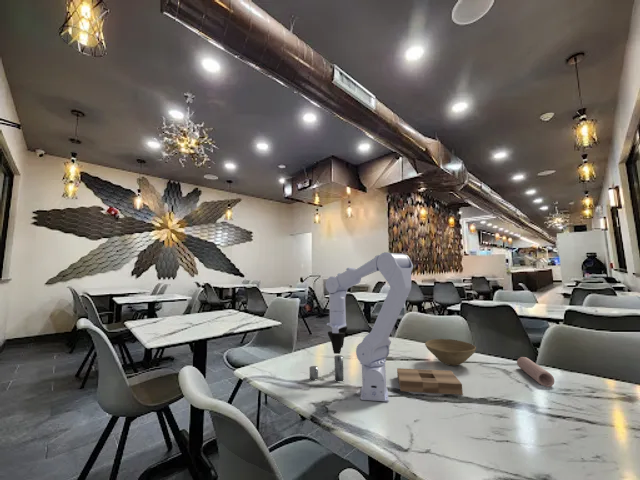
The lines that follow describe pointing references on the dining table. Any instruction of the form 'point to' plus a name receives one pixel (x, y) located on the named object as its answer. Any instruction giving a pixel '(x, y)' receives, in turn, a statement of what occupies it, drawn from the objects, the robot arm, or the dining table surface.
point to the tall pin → (339, 368)
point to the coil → (536, 372)
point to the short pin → (313, 372)
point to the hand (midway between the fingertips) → (338, 350)
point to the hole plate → (429, 381)
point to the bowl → (450, 350)
